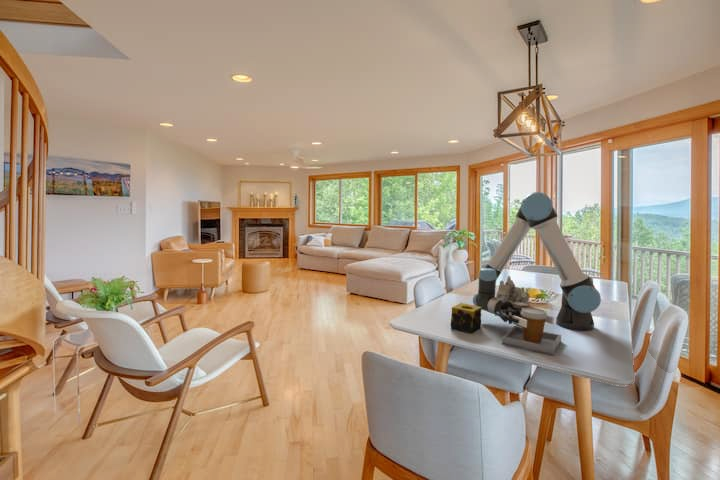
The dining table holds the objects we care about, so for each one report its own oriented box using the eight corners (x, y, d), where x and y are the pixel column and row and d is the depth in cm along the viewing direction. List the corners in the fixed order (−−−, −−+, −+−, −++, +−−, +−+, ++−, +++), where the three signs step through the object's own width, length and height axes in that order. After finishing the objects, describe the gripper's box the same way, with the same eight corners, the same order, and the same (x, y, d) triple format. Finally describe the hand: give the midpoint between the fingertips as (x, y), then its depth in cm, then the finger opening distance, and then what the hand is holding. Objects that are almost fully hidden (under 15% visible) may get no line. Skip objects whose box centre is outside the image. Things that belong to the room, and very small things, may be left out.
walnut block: (519, 320, 175) (520, 302, 174) (527, 324, 170) (529, 304, 169) (511, 321, 173) (512, 303, 172) (519, 325, 168) (520, 305, 168)
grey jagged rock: (489, 301, 211) (493, 275, 209) (509, 299, 218) (513, 274, 216) (511, 309, 197) (515, 282, 195) (532, 307, 205) (536, 281, 203)
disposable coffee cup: (548, 345, 141) (550, 315, 140) (522, 343, 142) (523, 313, 141) (541, 337, 150) (543, 308, 149) (516, 335, 152) (518, 306, 151)
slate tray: (560, 341, 148) (561, 335, 148) (553, 355, 133) (553, 348, 133) (513, 332, 158) (514, 325, 158) (501, 343, 144) (502, 336, 144)
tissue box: (459, 324, 168) (460, 302, 167) (481, 329, 162) (482, 306, 161) (449, 329, 160) (450, 306, 159) (472, 334, 154) (473, 311, 153)
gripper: (522, 313, 167) (563, 328, 147) (477, 318, 158) (513, 335, 138) (523, 297, 166) (564, 310, 146) (477, 301, 157) (514, 315, 137)
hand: (540, 322), depth 142 cm, fingers open, 13 cm apart
